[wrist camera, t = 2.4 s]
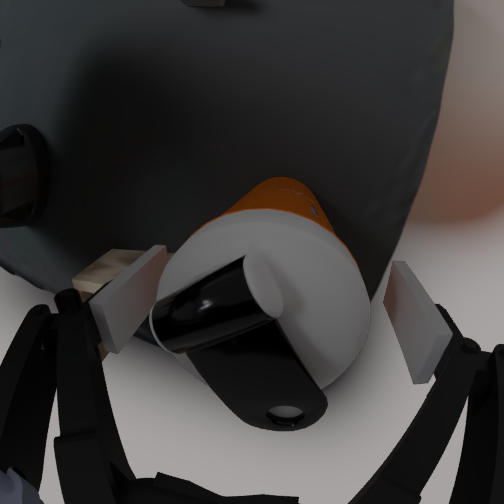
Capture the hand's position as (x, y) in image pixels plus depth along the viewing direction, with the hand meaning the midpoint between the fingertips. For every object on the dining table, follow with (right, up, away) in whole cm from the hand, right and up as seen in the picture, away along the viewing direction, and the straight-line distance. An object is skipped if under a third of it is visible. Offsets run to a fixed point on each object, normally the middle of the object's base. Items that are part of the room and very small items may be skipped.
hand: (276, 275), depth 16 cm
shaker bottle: (+1, +5, +11) cm, 12 cm away
